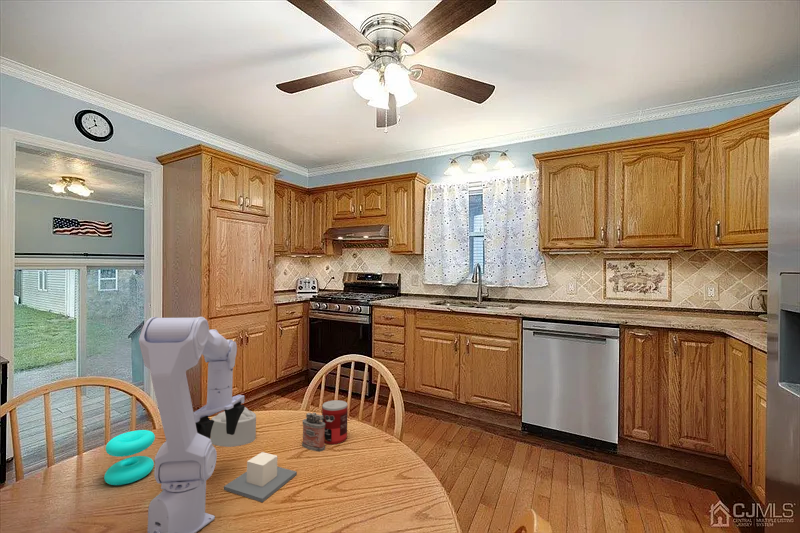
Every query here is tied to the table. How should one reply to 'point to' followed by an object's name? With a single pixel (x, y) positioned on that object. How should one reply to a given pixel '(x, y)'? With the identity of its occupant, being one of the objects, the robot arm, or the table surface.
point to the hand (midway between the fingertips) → (218, 440)
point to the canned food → (335, 421)
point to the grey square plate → (258, 492)
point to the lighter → (313, 432)
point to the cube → (261, 469)
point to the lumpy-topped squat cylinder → (242, 433)
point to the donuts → (131, 466)
